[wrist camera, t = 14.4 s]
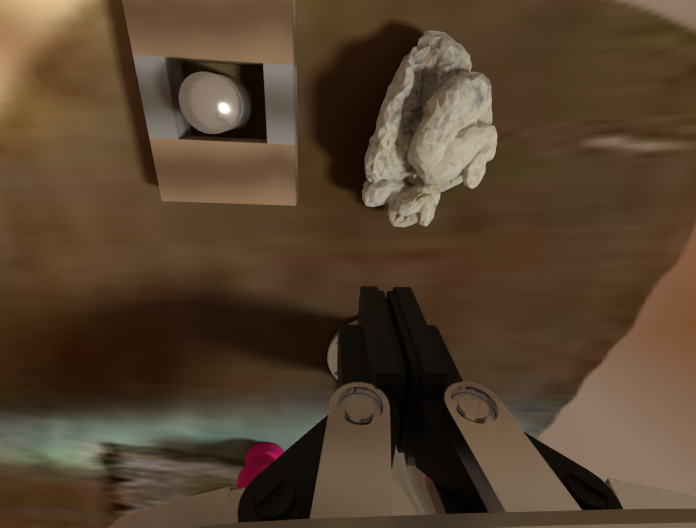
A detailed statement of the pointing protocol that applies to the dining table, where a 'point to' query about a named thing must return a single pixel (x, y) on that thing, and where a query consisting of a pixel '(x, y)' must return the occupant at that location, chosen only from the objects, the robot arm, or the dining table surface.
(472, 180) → the mineral
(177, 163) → the frame
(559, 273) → the dining table surface
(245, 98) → the white glossy cylinder
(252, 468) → the pepper mill
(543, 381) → the dining table surface
